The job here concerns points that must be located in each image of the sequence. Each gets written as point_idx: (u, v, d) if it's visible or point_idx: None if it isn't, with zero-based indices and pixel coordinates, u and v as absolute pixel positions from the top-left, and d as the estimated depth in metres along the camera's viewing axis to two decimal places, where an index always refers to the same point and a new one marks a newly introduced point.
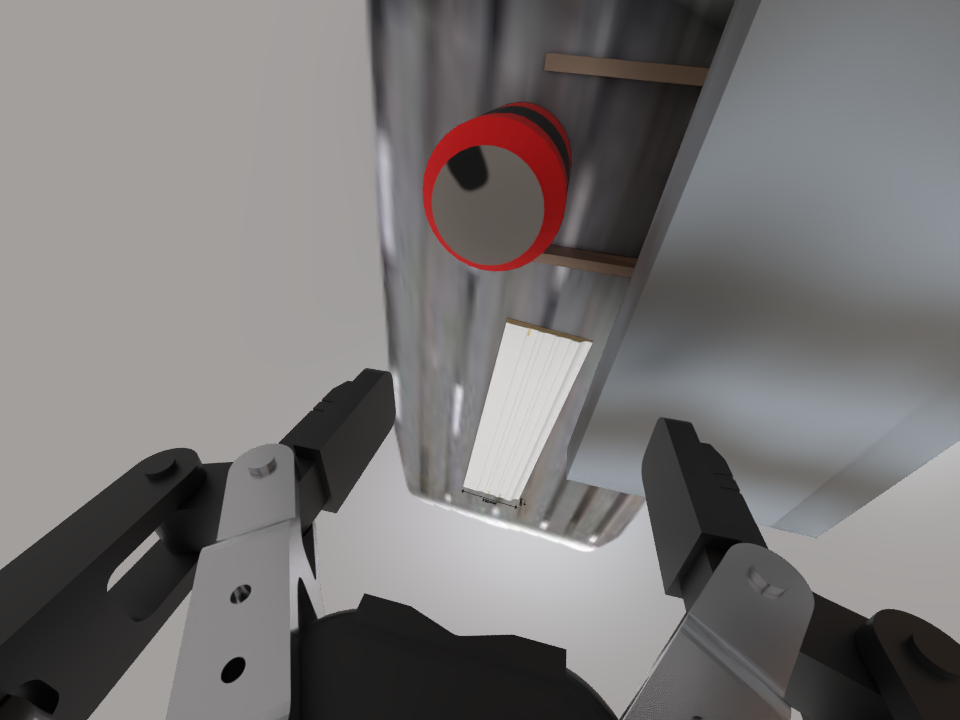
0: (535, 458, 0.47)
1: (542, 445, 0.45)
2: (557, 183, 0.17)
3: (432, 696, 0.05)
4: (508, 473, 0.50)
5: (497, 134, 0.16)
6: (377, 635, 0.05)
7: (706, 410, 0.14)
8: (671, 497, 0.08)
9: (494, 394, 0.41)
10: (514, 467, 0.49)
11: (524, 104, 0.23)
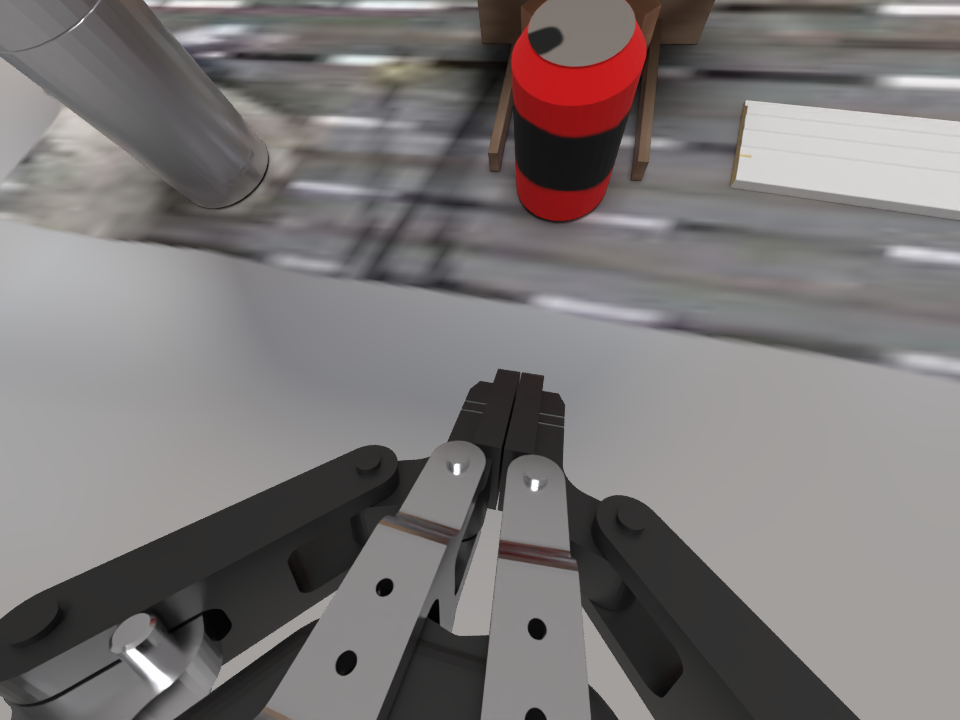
0: None
1: None
2: None
3: (432, 696, 0.05)
4: None
5: (522, 36, 0.21)
6: None
7: None
8: None
9: (882, 190, 0.26)
10: None
11: None
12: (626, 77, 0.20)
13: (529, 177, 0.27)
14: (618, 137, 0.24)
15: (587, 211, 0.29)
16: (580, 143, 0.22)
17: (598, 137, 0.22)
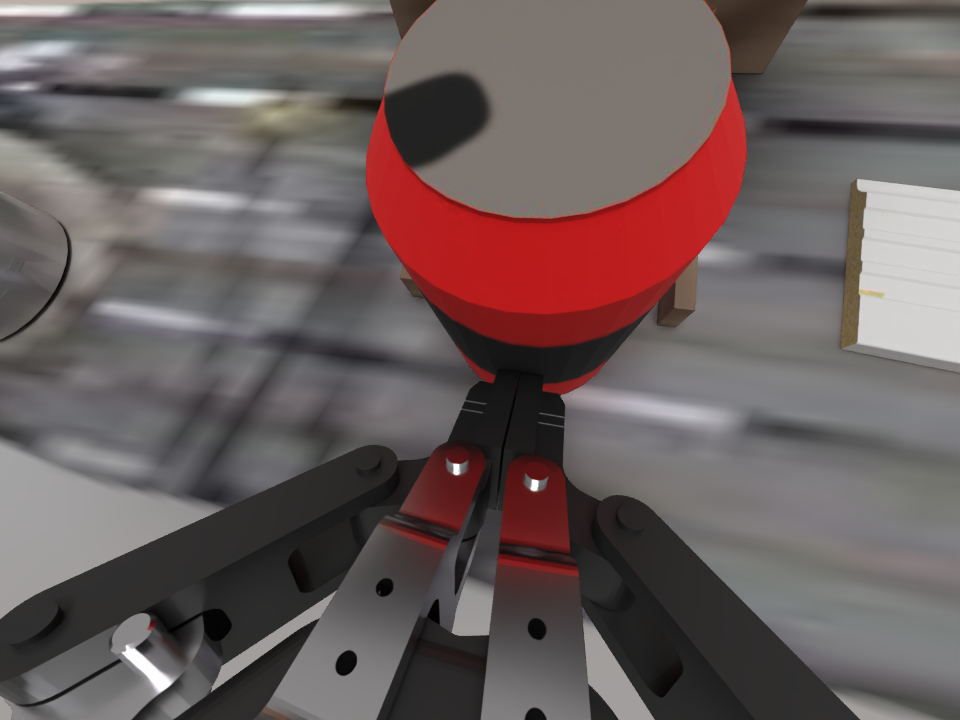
0: None
1: None
2: None
3: (432, 696, 0.05)
4: None
5: (383, 97, 0.07)
6: None
7: None
8: None
9: None
10: None
11: None
12: (696, 232, 0.06)
13: (463, 353, 0.13)
14: None
15: (581, 384, 0.16)
16: (558, 351, 0.09)
17: (604, 338, 0.09)
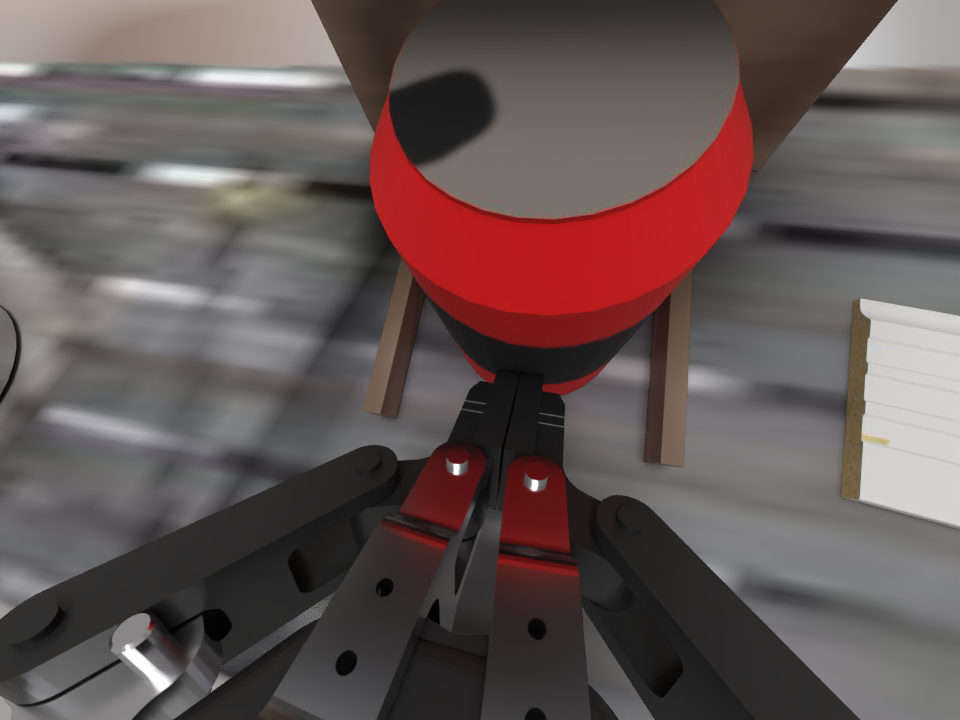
0: None
1: None
2: None
3: (432, 696, 0.05)
4: None
5: (388, 93, 0.07)
6: None
7: None
8: None
9: None
10: None
11: None
12: (700, 235, 0.06)
13: (464, 351, 0.13)
14: None
15: (582, 385, 0.16)
16: (559, 352, 0.09)
17: (606, 340, 0.09)
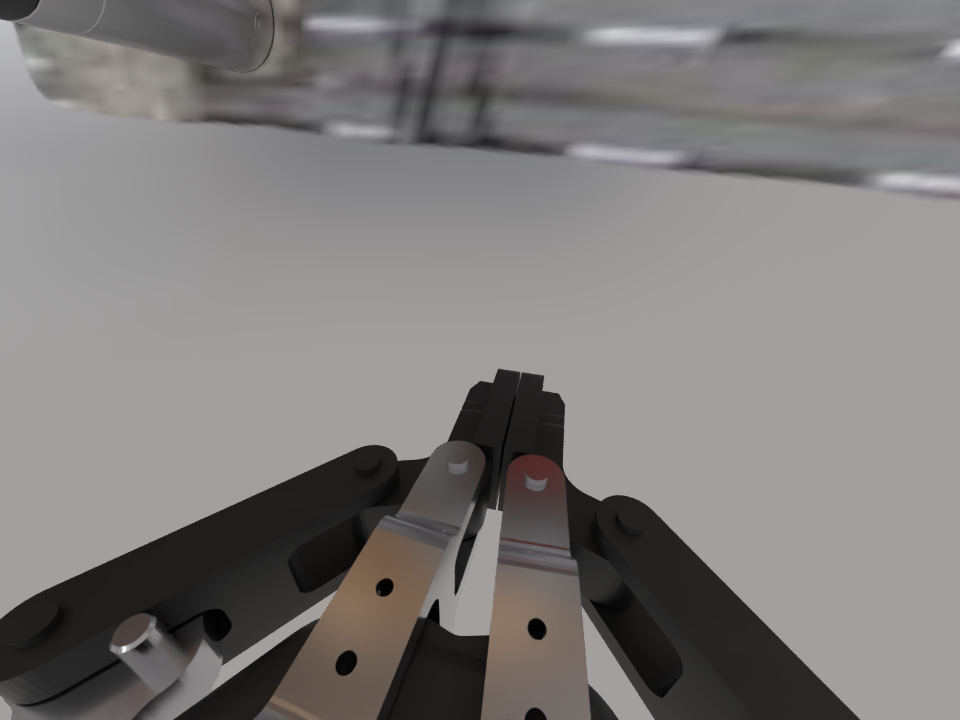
0: None
1: None
2: None
3: (432, 696, 0.05)
4: None
5: None
6: None
7: None
8: None
9: None
10: None
11: None
12: None
13: None
14: None
15: None
16: None
17: None
